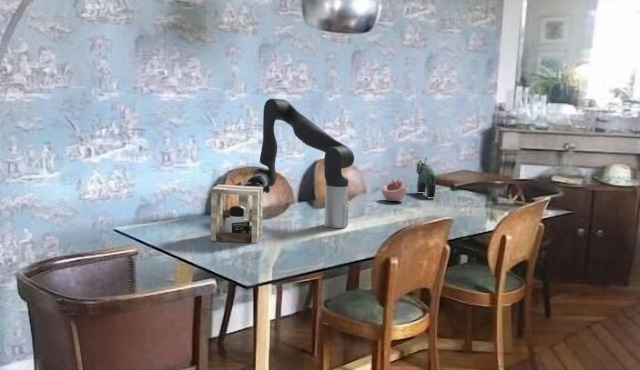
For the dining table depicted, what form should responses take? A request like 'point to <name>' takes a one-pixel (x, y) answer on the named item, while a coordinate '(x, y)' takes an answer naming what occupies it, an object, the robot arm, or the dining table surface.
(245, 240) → the wooden base display case
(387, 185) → the mortar and pestle
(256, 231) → the bridge
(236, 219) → the medicine bottle
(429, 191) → the green elephant figurine
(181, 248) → the dining table surface
